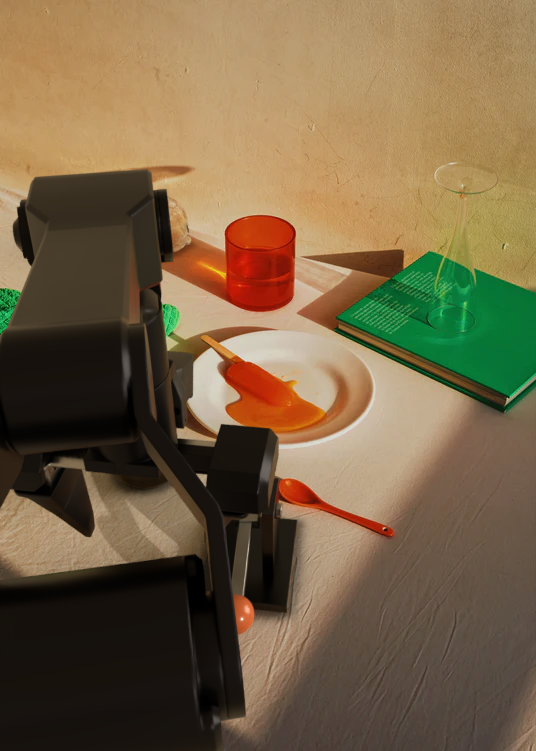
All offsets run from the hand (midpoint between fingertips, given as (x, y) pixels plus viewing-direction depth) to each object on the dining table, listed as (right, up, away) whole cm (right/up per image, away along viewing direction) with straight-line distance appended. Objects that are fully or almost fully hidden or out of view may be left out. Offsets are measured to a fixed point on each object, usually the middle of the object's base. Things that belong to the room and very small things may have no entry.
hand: (150, 538), depth 55 cm
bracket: (+7, -5, +14) cm, 17 cm away
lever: (+7, -4, +9) cm, 12 cm away
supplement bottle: (-4, +2, +25) cm, 25 cm away
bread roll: (-12, +32, +66) cm, 75 cm away
